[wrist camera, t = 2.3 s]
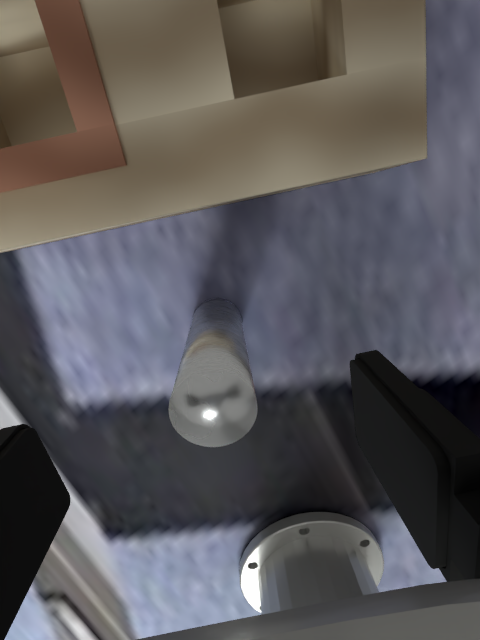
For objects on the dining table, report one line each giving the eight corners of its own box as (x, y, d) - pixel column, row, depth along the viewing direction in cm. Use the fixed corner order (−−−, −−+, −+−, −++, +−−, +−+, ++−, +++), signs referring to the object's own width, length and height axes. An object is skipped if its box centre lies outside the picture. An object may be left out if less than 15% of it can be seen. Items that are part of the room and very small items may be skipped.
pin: (245, 338, 21) (264, 437, 12) (199, 348, 22) (181, 454, 12) (236, 293, 20) (248, 362, 11) (187, 304, 20) (157, 381, 11)
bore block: (374, 172, 19) (429, 157, 14) (9, 251, 19) (-66, 264, 14) (358, -106, 15) (426, -266, 10) (-100, -3, 15) (-257, -108, 10)
